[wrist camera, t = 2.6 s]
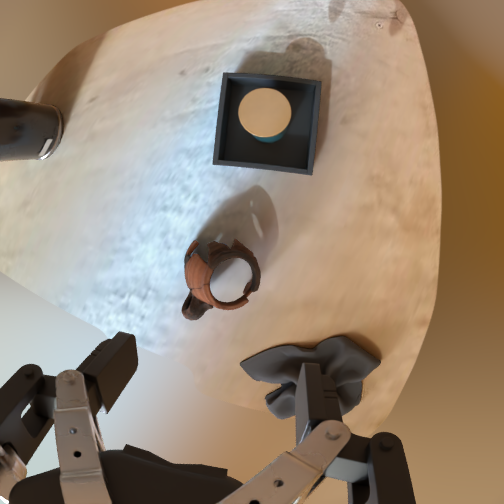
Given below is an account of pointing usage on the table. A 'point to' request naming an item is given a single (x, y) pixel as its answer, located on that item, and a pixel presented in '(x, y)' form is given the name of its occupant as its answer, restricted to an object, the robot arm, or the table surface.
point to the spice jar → (265, 114)
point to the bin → (260, 154)
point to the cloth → (331, 363)
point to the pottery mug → (201, 274)
